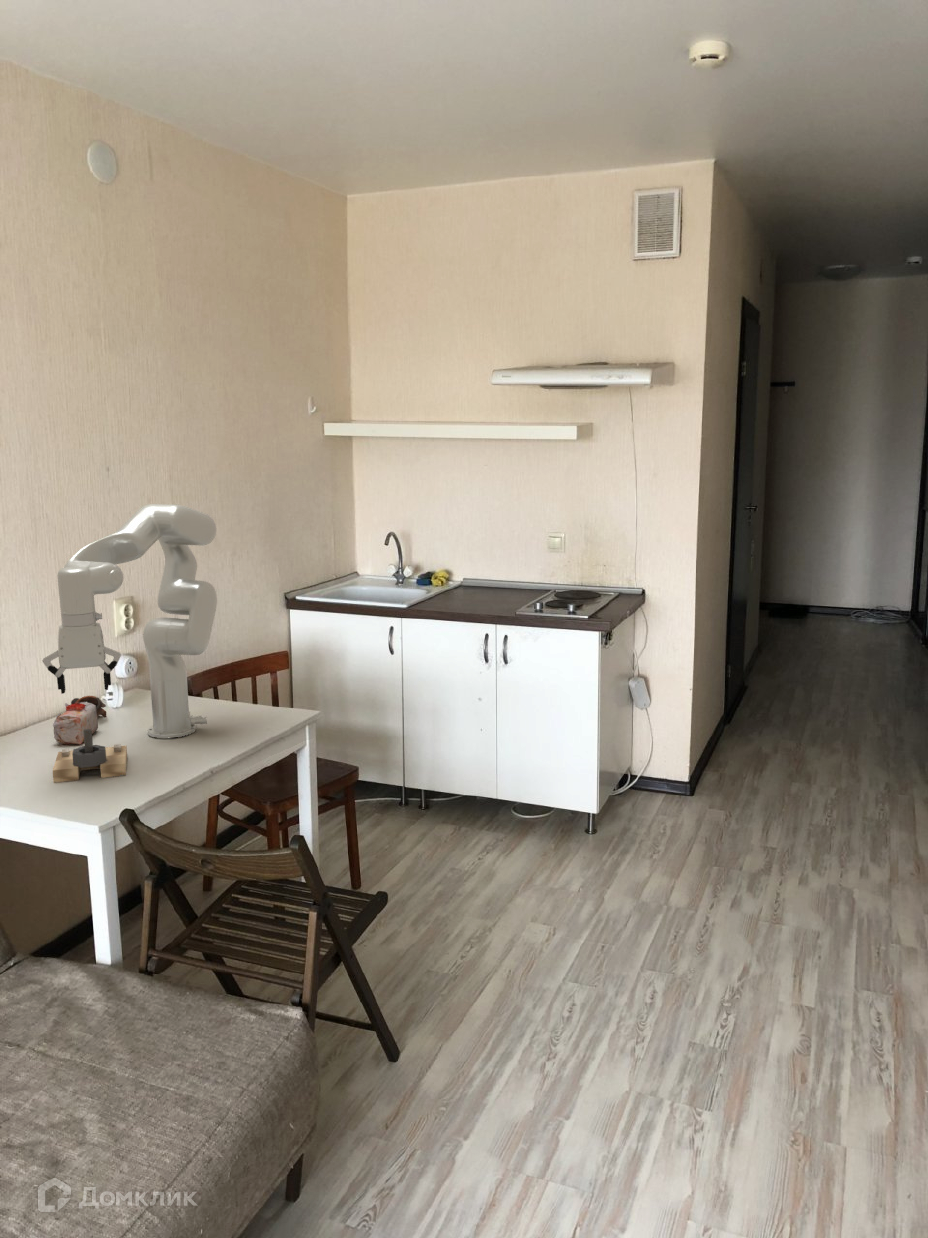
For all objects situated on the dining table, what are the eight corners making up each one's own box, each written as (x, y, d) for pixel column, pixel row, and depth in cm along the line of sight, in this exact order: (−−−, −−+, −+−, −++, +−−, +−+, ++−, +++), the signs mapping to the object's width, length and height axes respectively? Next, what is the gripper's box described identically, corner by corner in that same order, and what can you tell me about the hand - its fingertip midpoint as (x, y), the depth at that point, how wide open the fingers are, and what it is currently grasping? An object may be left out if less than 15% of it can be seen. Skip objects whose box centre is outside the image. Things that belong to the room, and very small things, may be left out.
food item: (83, 746, 257) (80, 710, 255) (52, 747, 257) (49, 710, 255) (101, 730, 271) (98, 696, 269) (72, 731, 270) (69, 696, 269)
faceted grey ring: (106, 755, 241) (105, 744, 240) (105, 765, 234) (104, 753, 233) (75, 758, 238) (74, 746, 238) (72, 768, 232) (71, 756, 231)
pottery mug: (117, 718, 283) (111, 699, 278) (93, 740, 277) (87, 720, 271) (84, 704, 287) (78, 684, 282) (61, 725, 281) (54, 705, 275)
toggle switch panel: (127, 756, 249) (124, 714, 247) (125, 775, 236) (122, 731, 233) (59, 763, 244) (55, 720, 242) (53, 782, 231) (49, 737, 229)
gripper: (118, 614, 236) (124, 683, 240) (40, 619, 231) (47, 689, 235) (117, 620, 229) (123, 691, 233) (37, 625, 224) (44, 698, 228)
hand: (85, 690), depth 234 cm, fingers open, 9 cm apart
